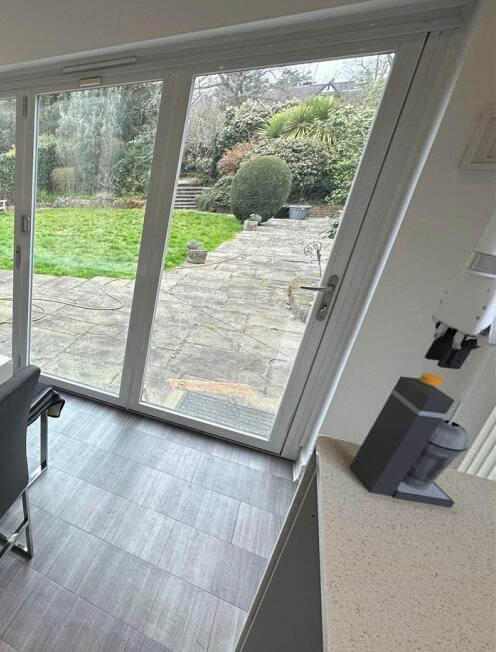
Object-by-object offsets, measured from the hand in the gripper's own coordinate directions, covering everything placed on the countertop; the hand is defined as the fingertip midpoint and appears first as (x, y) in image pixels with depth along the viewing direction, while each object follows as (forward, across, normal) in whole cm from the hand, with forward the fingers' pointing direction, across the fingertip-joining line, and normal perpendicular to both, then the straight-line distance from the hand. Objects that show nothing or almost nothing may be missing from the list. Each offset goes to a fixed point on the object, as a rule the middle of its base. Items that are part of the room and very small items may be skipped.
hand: (441, 362), depth 76 cm
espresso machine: (+29, 0, -5) cm, 30 cm away
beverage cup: (+28, 0, -7) cm, 29 cm away
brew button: (+4, 0, 0) cm, 4 cm away
